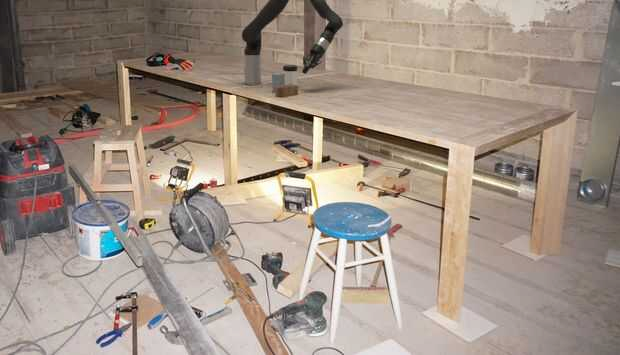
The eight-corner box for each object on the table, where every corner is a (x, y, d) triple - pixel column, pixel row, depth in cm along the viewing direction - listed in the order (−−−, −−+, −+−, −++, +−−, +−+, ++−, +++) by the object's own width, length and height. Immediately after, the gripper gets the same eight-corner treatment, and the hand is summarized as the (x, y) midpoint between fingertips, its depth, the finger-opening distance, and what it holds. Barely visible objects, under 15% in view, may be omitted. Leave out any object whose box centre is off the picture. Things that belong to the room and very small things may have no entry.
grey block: (272, 92, 306) (271, 73, 303) (277, 90, 310) (277, 72, 307) (279, 93, 303) (279, 74, 300) (284, 91, 307) (284, 73, 304)
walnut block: (292, 93, 302) (275, 96, 295) (292, 84, 301) (275, 86, 293) (298, 94, 299) (281, 97, 291) (298, 85, 297) (281, 88, 290)
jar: (281, 88, 318) (281, 66, 314) (284, 85, 326) (283, 64, 322) (296, 88, 317) (296, 67, 313) (299, 85, 324) (299, 65, 320)
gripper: (308, 42, 307) (291, 67, 303) (324, 44, 298) (308, 69, 294) (315, 51, 312) (299, 75, 308) (331, 53, 303) (315, 78, 299)
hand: (303, 72), depth 301 cm, fingers closed
